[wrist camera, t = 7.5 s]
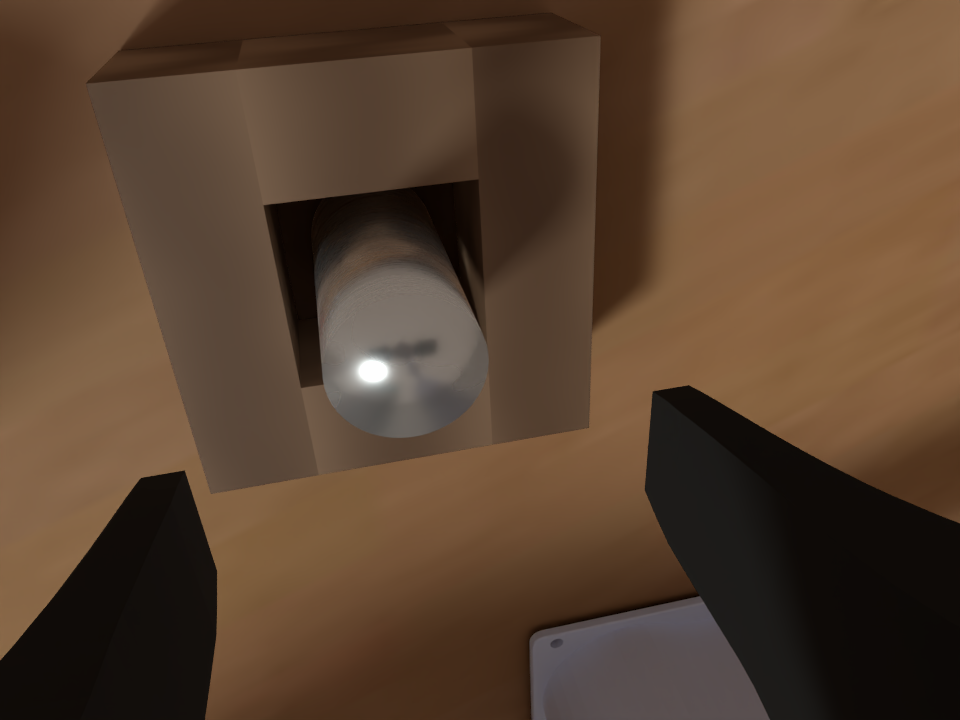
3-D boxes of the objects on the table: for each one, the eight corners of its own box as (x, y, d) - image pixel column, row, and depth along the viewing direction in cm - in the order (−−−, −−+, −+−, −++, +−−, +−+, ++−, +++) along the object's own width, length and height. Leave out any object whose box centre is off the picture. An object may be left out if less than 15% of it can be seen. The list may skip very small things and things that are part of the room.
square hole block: (551, 12, 19) (600, 35, 16) (551, 362, 24) (589, 427, 21) (118, 50, 17) (86, 84, 14) (220, 415, 23) (210, 493, 20)
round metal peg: (430, 172, 20) (490, 288, 14) (433, 283, 22) (487, 427, 16) (305, 178, 20) (314, 302, 14) (317, 293, 21) (330, 446, 15)
